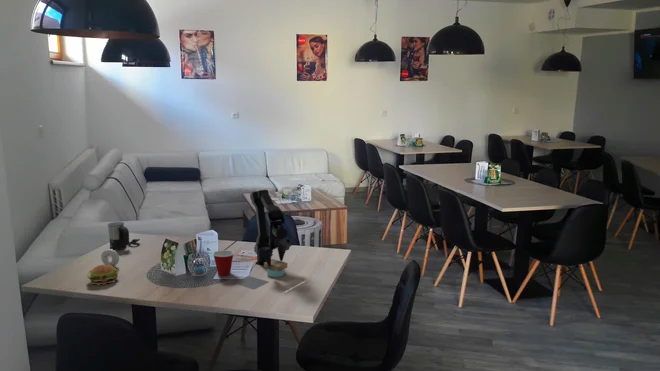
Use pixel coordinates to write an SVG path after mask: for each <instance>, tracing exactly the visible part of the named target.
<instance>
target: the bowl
mask: <svg viewBox="0 0 660 371" xmlns="http://www.w3.org/2000/svg"><path fill="white" fill-rule="evenodd" d="M266 274H267V276H269V277H271V278H279V277H282V276H284V275H285V269H283V270H281V271H276V270H272V269H268V268H266Z"/></svg>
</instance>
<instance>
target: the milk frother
mask: <svg viewBox="0 0 660 371" xmlns="http://www.w3.org/2000/svg"><path fill="white" fill-rule="evenodd" d="M107 228H108V230H107V231H108V238H109V249H110V248H111V249H118V250H123V249H126V248H127V246H129V245H131V244H136V243H138V242H139V241H140V240H141V239H140V238H138V239H137V238H134V239H132V240H131V241H130V231H129V229H128V228H127V227H126V226H125V222H123V221H114V222H109V223H107ZM122 248H123V249H122Z"/></svg>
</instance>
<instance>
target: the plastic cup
mask: <svg viewBox="0 0 660 371" xmlns="http://www.w3.org/2000/svg"><path fill="white" fill-rule="evenodd" d="M212 255H213V258H214V262H215V266H216V271H217V275H218V276H220V277H227V276H230V274H231V271H232V270H231V269H232V263H233V257H234V255H235V252H234V251H233V250H217V251H213V253H212Z"/></svg>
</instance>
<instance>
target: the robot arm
mask: <svg viewBox="0 0 660 371" xmlns="http://www.w3.org/2000/svg"><path fill="white" fill-rule="evenodd" d="M249 196H250V201H251V204H252V205H253V207H254V208H255V216H256V223H257V224H256V225H257V231H258V232H257V234H258V235H257V237H256V240H255V241H256V242H255V244H254V248H253V249H254V250H253V252H254V253H255V254H256V259H257V260H256V262H255V264H256V265H260V266H264V263H265V262H267V264H268V266H271V259H272V257H273V255H274V254H273V252H274V250H277V254H278V259H279V261H282V262H283V260H284V257H285V253H286V252H287V251H289V250H290V248H291V247H292V246H293V245H292V244H293V240H292V239H291V238H288V239H285V238H287V236H288V230H287V229H286V228H285V227H284V224H286V222H285V221H286V219H285V215H284V213H283V211H282V210H281V209H280V207H279V206H278V205H275V203H274V201H273V199H272V197H271V196H270V194H269V190H268V189H260V190H257V191H252V192H251V193H250V195H249ZM265 210H266V212H265ZM266 220H267V221H266ZM267 223H268V229H267Z"/></svg>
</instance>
